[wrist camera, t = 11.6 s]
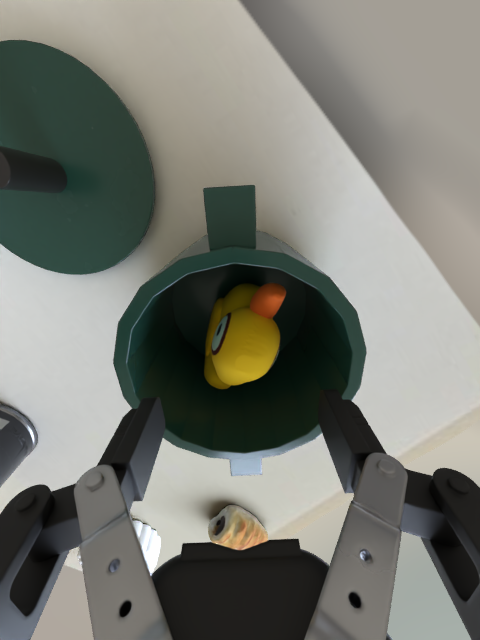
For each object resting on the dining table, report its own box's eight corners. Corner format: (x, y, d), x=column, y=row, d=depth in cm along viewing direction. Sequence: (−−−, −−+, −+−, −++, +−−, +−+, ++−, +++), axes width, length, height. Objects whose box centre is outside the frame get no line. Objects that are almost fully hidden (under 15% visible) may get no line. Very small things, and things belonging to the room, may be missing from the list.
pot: (181, 388, 30) (150, 488, 19) (147, 199, 22) (61, 194, 11) (306, 383, 30) (344, 480, 19) (319, 190, 21) (398, 175, 11)
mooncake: (72, 526, 41) (57, 554, 38) (137, 509, 39) (128, 537, 36) (113, 563, 45) (104, 590, 42) (174, 549, 44) (168, 576, 40)
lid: (7, 275, 24) (-71, 299, 18) (-87, 56, 18) (-256, -21, 12) (171, 267, 24) (148, 288, 18) (134, 42, 18) (80, -44, 12)
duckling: (239, 243, 22) (239, 276, 13) (293, 268, 23) (326, 314, 14) (194, 344, 27) (172, 420, 18) (241, 361, 28) (242, 441, 19)
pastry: (276, 522, 41) (280, 552, 37) (249, 541, 43) (250, 570, 40) (230, 499, 38) (230, 529, 35) (204, 520, 41) (201, 550, 37)
